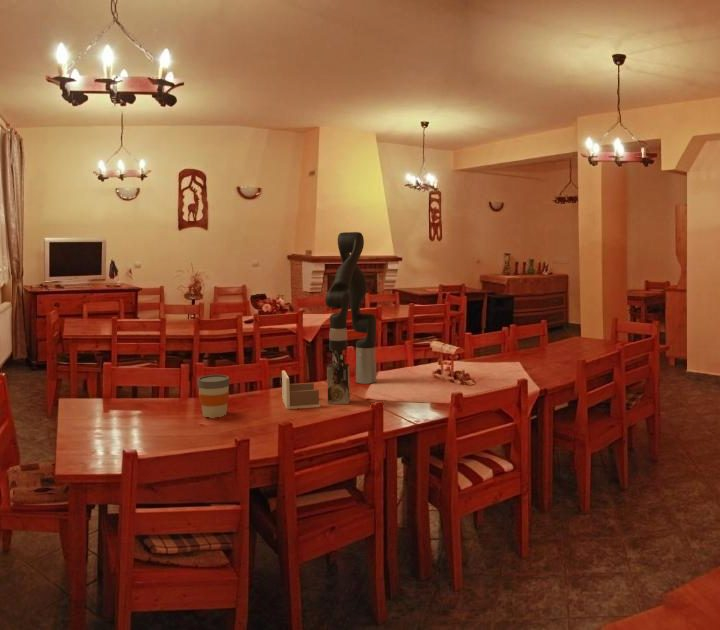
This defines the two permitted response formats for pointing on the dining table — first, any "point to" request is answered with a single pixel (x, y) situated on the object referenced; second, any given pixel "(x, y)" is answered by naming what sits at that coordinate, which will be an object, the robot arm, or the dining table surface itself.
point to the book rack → (299, 394)
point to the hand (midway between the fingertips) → (338, 376)
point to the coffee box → (338, 385)
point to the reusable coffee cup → (213, 395)
